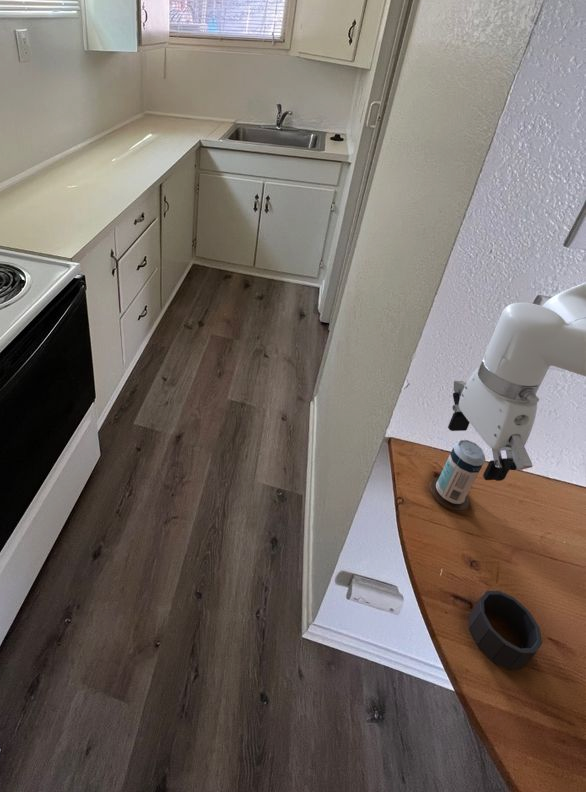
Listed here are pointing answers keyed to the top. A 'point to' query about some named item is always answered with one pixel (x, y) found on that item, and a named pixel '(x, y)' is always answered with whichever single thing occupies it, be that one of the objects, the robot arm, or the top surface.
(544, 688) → the top surface
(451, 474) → the beer can
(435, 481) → the coaster
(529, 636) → the ring
